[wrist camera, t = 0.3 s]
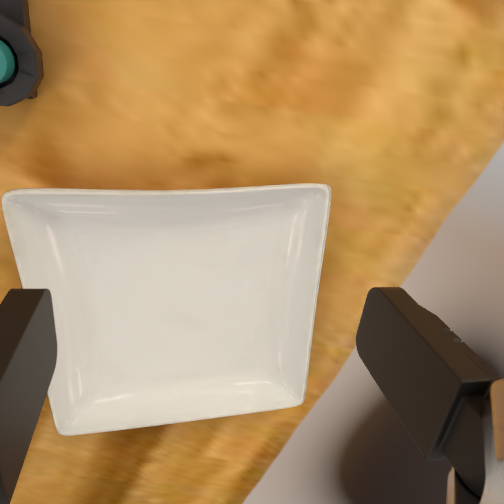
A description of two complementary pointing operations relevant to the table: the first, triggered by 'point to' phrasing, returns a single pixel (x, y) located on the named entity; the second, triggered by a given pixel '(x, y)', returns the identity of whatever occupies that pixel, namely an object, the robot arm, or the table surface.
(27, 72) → the scale
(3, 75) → the button
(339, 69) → the table surface
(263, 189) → the square plate
